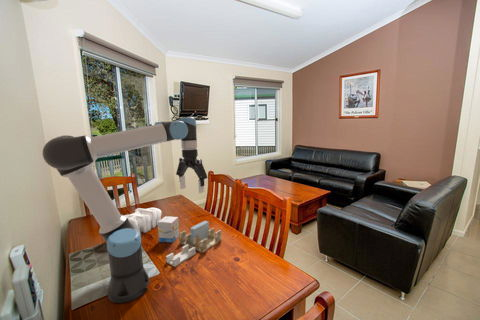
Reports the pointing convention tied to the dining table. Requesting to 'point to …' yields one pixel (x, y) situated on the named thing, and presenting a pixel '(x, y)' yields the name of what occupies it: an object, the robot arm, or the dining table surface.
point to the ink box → (168, 229)
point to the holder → (180, 256)
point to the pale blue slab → (200, 231)
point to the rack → (201, 245)
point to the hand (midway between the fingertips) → (192, 190)
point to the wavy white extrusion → (145, 219)
